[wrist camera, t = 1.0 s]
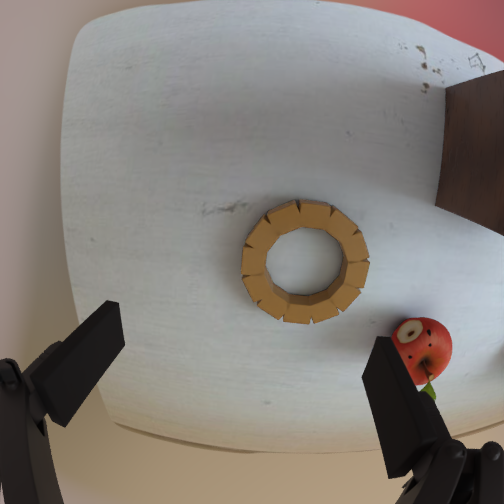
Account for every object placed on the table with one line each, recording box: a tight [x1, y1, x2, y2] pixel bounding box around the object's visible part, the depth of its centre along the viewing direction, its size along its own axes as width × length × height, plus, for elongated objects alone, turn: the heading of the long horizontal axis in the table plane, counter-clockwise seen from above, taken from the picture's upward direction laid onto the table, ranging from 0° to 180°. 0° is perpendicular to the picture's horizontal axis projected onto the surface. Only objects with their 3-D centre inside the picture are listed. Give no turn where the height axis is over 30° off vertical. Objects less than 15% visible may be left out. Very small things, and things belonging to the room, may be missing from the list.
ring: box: [241, 199, 370, 324], centre depth 25 cm, size 11×11×2 cm
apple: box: [391, 317, 452, 402], centre depth 23 cm, size 8×7×10 cm
